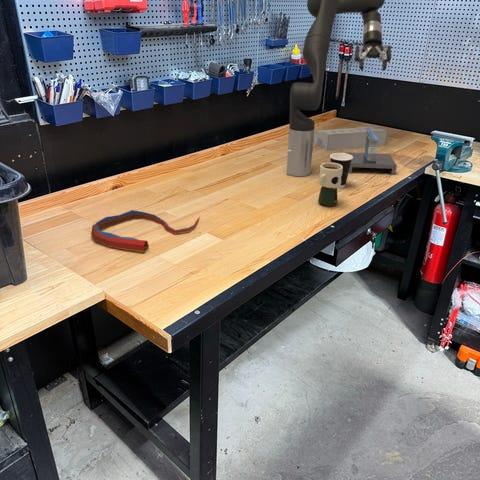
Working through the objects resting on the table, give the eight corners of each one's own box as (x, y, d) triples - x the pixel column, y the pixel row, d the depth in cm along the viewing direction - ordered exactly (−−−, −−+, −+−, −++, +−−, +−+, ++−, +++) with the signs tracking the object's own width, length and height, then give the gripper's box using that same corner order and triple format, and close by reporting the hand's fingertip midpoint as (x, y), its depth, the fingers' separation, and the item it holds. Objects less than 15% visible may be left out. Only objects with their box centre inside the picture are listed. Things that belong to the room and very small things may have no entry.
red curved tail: (166, 205, 150) (164, 191, 148) (214, 222, 137) (212, 207, 134) (81, 239, 130) (78, 223, 128) (127, 263, 117) (124, 246, 114)
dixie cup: (323, 182, 167) (326, 153, 162) (343, 180, 169) (346, 152, 164) (332, 190, 161) (335, 160, 155) (352, 188, 162) (357, 158, 157)
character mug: (327, 211, 145) (331, 172, 139) (308, 205, 149) (312, 167, 143) (345, 202, 152) (350, 164, 145) (327, 196, 156) (331, 159, 150)
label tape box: (376, 162, 176) (381, 130, 171) (365, 161, 177) (370, 129, 171) (373, 155, 184) (377, 124, 178) (363, 154, 184) (367, 124, 179)
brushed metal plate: (347, 173, 177) (348, 163, 175) (343, 161, 189) (344, 152, 187) (395, 174, 175) (396, 164, 173) (388, 163, 188) (389, 153, 186)
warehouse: (368, 138, 223) (370, 122, 219) (385, 146, 211) (388, 129, 207) (312, 142, 215) (314, 126, 211) (327, 151, 203) (328, 134, 199)
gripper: (387, 42, 191) (388, 75, 186) (353, 42, 192) (353, 74, 187) (392, 29, 184) (393, 63, 179) (356, 29, 185) (356, 62, 180)
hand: (372, 69), depth 183 cm, fingers open, 8 cm apart
